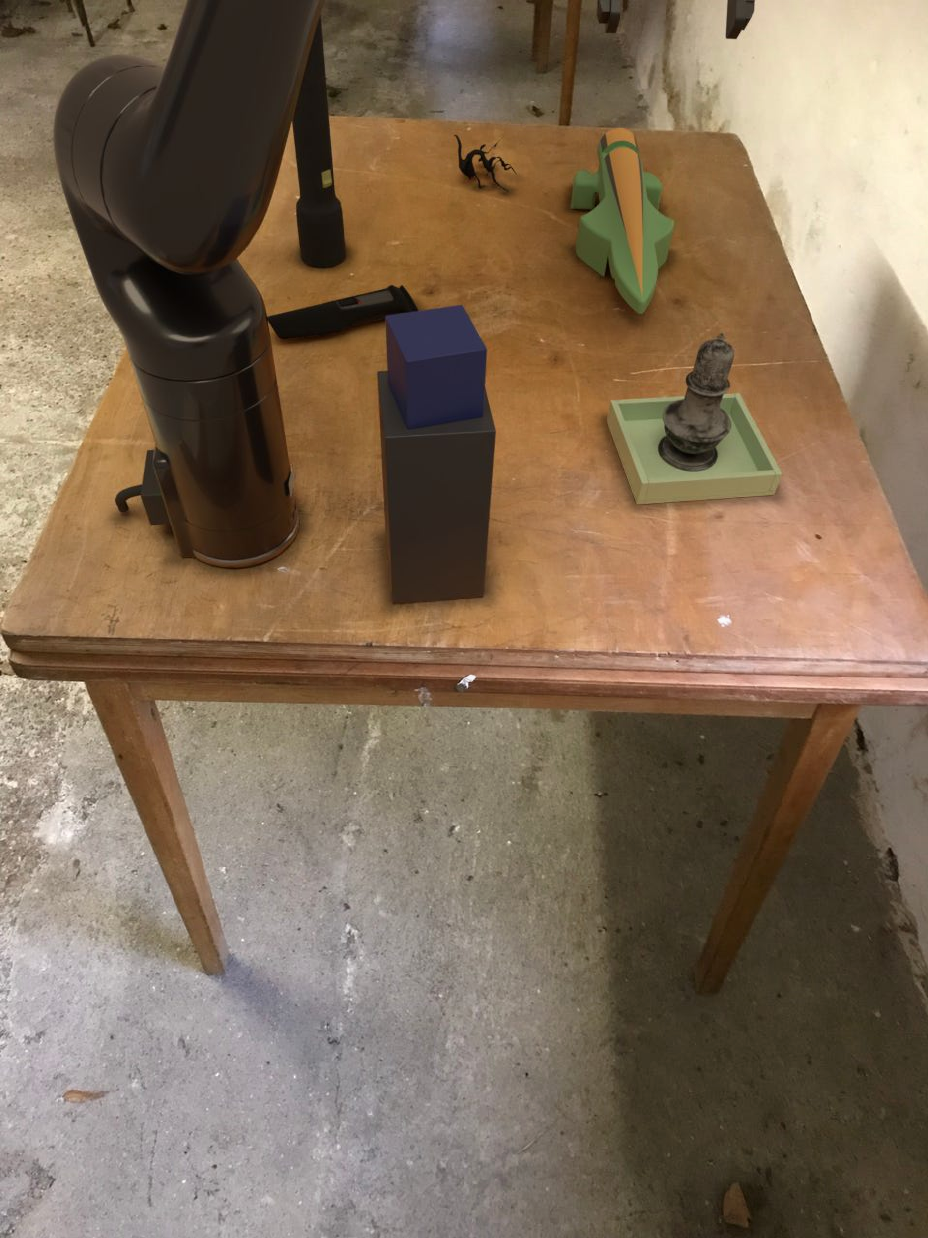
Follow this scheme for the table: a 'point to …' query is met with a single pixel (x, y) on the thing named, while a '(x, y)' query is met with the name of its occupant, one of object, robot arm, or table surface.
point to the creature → (467, 164)
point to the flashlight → (316, 167)
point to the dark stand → (435, 502)
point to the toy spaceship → (622, 219)
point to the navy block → (435, 366)
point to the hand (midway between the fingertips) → (674, 30)
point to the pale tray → (652, 480)
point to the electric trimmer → (342, 313)
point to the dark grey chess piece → (699, 411)
